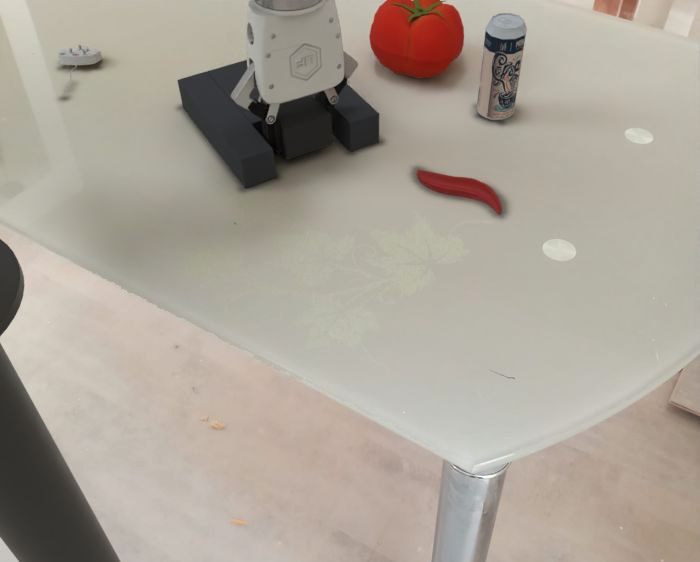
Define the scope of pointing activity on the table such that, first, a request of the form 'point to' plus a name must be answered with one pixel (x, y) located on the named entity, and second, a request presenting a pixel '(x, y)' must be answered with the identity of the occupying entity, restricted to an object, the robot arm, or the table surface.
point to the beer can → (501, 66)
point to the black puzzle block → (304, 126)
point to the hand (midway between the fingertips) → (300, 137)
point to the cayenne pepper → (460, 187)
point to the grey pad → (246, 128)
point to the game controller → (79, 57)
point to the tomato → (417, 36)
